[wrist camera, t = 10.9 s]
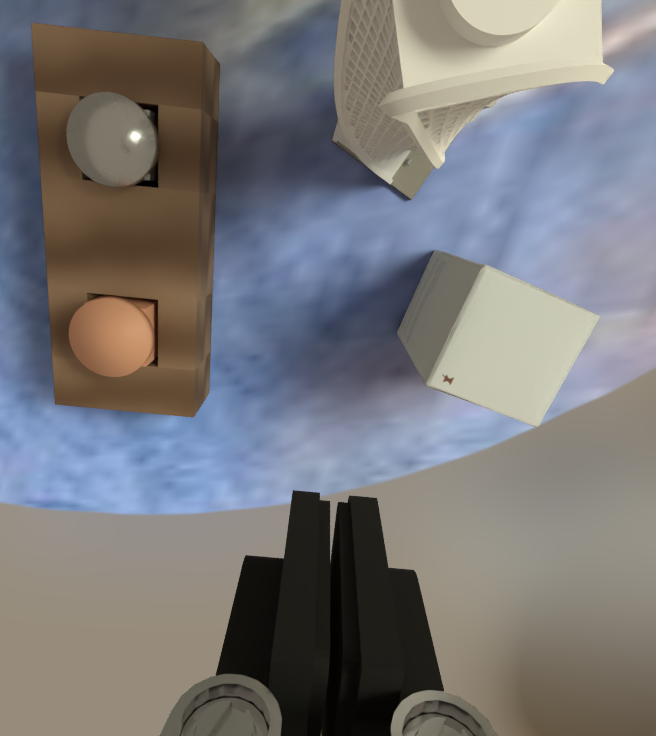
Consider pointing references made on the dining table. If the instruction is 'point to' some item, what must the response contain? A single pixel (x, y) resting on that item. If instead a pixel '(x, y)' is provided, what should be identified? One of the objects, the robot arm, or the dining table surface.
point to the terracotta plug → (115, 334)
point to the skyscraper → (448, 71)
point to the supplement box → (492, 337)
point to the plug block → (131, 212)
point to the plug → (114, 140)
